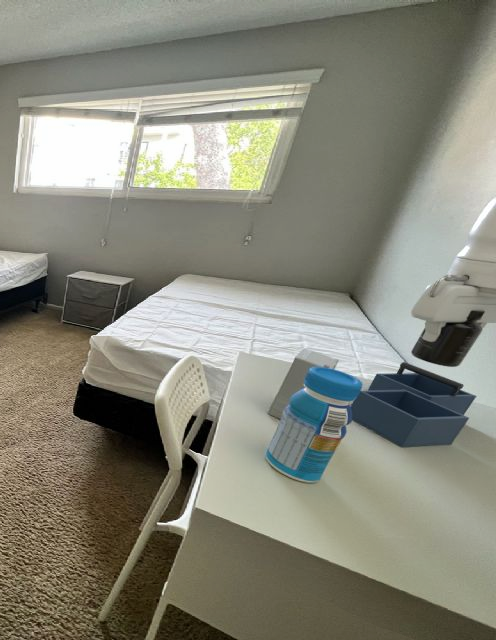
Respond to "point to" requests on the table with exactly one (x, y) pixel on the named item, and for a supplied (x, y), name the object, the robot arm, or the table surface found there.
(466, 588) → the table surface
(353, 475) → the table surface
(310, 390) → the blue vitamin bottle
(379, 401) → the lower bin
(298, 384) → the cosmetic box
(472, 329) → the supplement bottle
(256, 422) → the table surface
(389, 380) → the upper bin
